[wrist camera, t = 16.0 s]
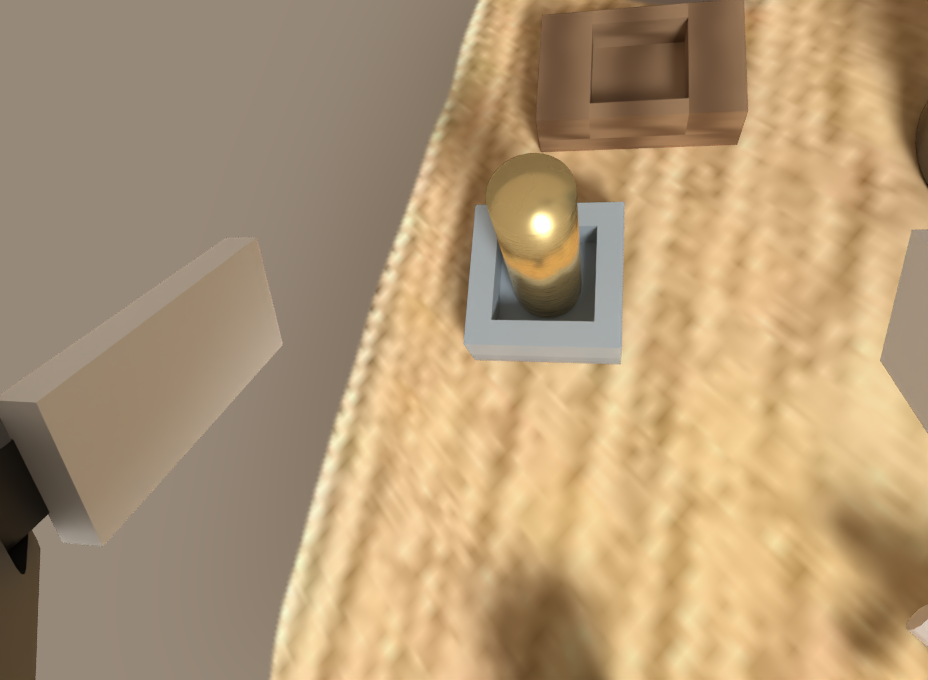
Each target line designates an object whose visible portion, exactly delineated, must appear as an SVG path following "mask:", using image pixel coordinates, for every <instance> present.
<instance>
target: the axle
mask: <svg viewBox="0 0 928 680" xmlns="http://www.w3.org/2000/svg"><path fill="white" fill-rule="evenodd" d="M486 204H487V208H488V211H489V215H490V218H491V221H492V224H493V227H494V230H495V233H496V236H497V239H498V242H499V245H500V248H501V251H502V255H503V258H504V261H505V264H506V267H507V270H508V273H509V276H510V279H511V282H512V285H513V288H514V291H515V295H516V297H517V300H518V302H519V304H520V305H521V306H522V307H523V308H524V309H525V310H526V311H527V312H529V313H530V314H532V315H534V316H537V317H542V318H553V317H557V316H560V315H562V314H564V313H566V312H568V311H569V310H570V309H571V308H573V306H574V305H575V304H576V303H577V301H578V299H579V297H580V295H581V290H582V276H581V259H580V241H579V223H578V205H577V189H576V182H575V179H574V176H573V174H572V173H571V171H570V170H569V168H568V167H567V166H566V165H565V164H564V163H563V162H561V161H560V160H558V159H556V158H554V157H552V156H549V155H546V154H540V153H529V154H523V155H519V156H516V157H514V158H512V159H510V160H508V161H506V162H505V163H503V164H502V165H501V166H500V167H499V168H498V169H497V170H496V171H495V172H494V174H493V175H492V177H491V179H490V180H489V183H488V185H487V189H486Z"/></svg>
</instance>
